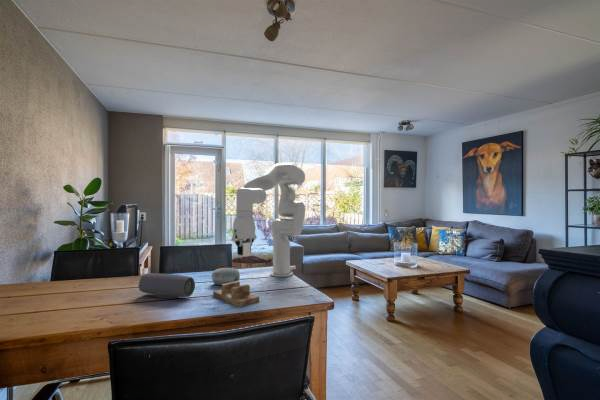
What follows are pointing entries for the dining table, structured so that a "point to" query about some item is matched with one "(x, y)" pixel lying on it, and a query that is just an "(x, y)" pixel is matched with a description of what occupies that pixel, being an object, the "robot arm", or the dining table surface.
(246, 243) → the white rectangular block
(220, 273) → the grey yarn ball
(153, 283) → the bluetooth speaker
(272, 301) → the dining table surface
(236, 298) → the notched board
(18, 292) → the dining table surface
